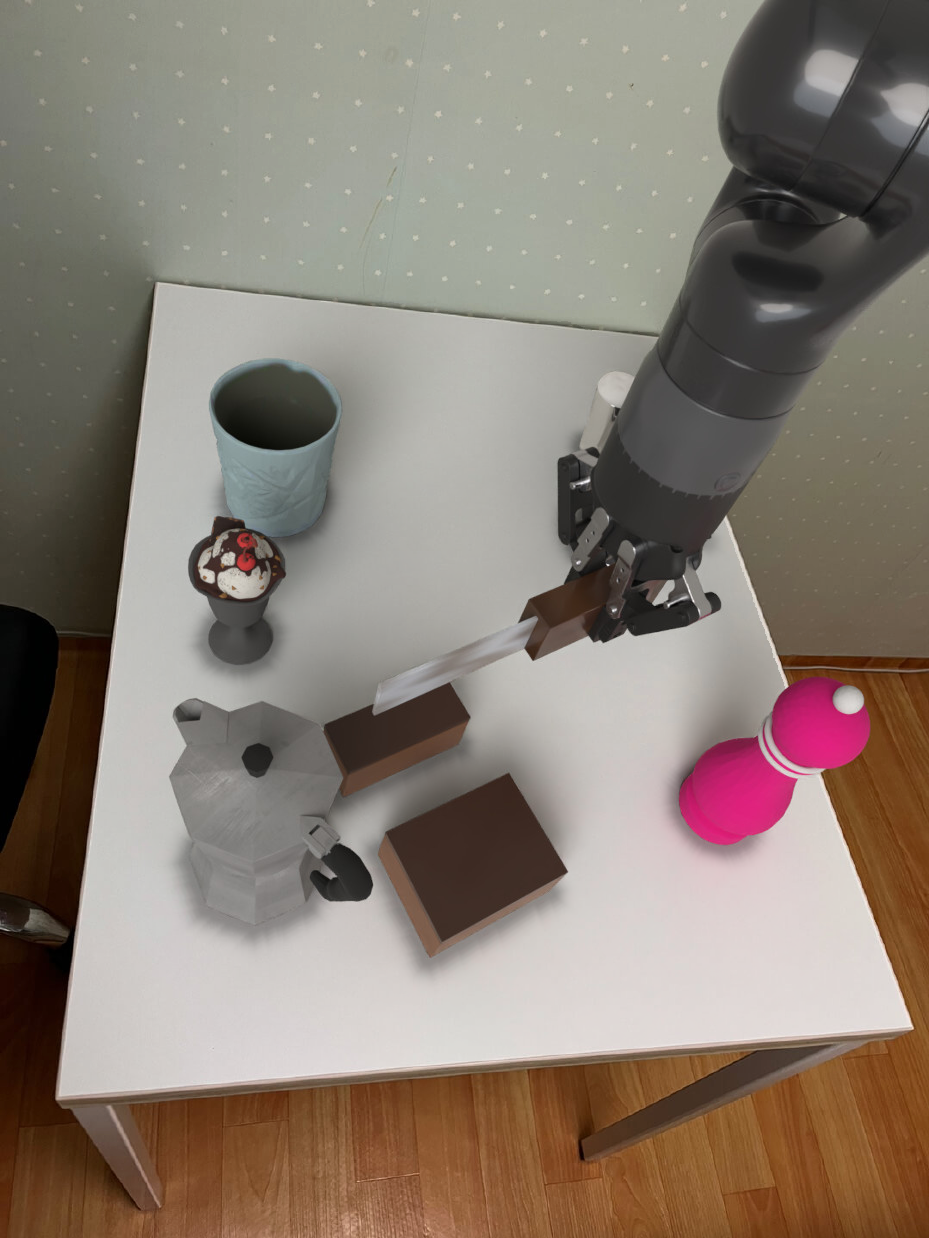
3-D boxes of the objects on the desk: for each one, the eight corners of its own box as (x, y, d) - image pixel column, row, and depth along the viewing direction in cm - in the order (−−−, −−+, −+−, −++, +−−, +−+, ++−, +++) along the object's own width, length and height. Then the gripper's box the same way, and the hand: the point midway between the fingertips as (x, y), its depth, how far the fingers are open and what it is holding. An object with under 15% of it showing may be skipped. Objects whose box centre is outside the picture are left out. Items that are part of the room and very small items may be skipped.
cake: (494, 796, 66) (509, 771, 62) (548, 891, 63) (568, 871, 59) (377, 854, 62) (385, 831, 58) (429, 958, 59) (442, 942, 55)
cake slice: (434, 703, 69) (445, 673, 65) (458, 744, 68) (471, 717, 64) (320, 752, 65) (323, 723, 61) (343, 797, 64) (348, 771, 60)
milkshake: (624, 469, 88) (662, 397, 80) (574, 462, 87) (606, 387, 79) (621, 437, 90) (657, 363, 82) (571, 429, 89) (603, 354, 81)
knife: (628, 582, 61) (649, 547, 57) (649, 608, 60) (671, 575, 56) (363, 697, 52) (370, 664, 48) (382, 730, 51) (391, 699, 48)
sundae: (268, 684, 68) (269, 575, 55) (184, 661, 67) (166, 546, 55) (294, 616, 71) (301, 499, 59) (215, 594, 71) (204, 472, 58)
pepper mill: (706, 866, 66) (852, 765, 50) (655, 784, 69) (777, 663, 53) (774, 829, 69) (934, 722, 53) (723, 752, 72) (859, 628, 56)
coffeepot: (140, 839, 59) (99, 729, 45) (246, 750, 64) (241, 624, 49) (296, 1003, 56) (309, 943, 41) (396, 896, 61) (439, 808, 46)
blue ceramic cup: (335, 465, 81) (345, 366, 71) (329, 552, 75) (339, 458, 65) (223, 453, 79) (217, 350, 69) (209, 541, 74) (200, 443, 64)
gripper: (832, 511, 43) (692, 677, 57) (663, 330, 48) (574, 524, 62) (723, 560, 40) (604, 723, 54) (555, 362, 45) (488, 558, 59)
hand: (588, 616), depth 58 cm, fingers closed on knife, 2 cm apart
